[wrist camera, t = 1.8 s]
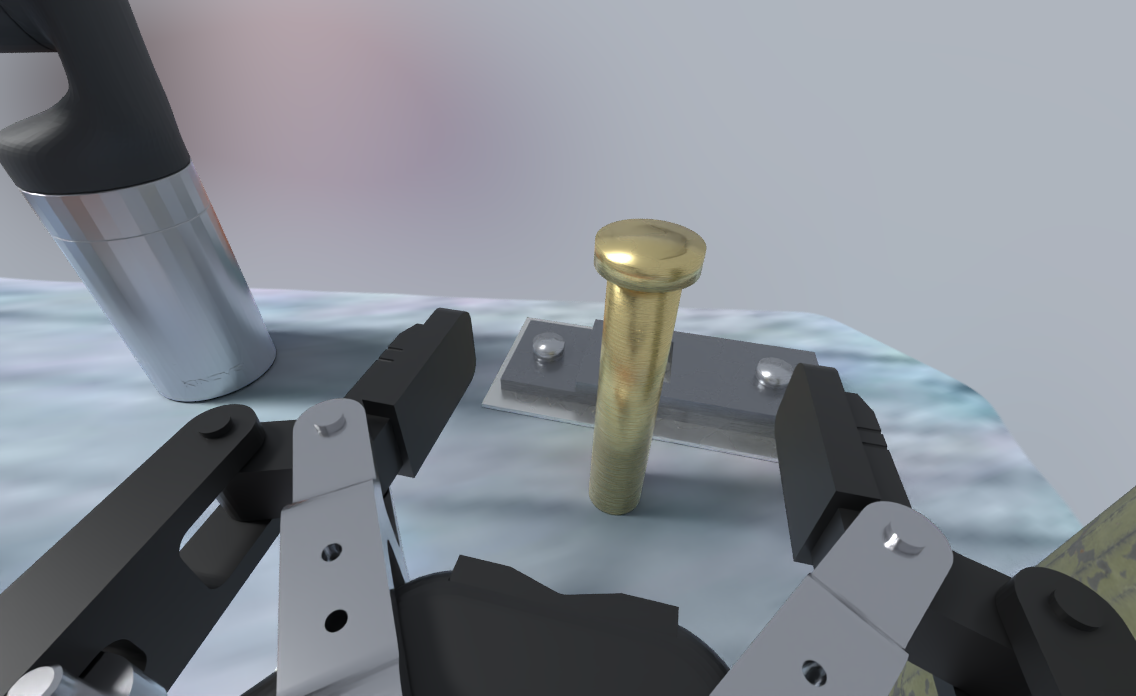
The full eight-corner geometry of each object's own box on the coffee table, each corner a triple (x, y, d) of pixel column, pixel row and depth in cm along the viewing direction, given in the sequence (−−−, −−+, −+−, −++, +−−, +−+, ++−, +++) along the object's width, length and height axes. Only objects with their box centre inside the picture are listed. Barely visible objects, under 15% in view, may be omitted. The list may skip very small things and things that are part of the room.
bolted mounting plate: (482, 407, 40) (477, 372, 37) (527, 320, 50) (526, 288, 47) (842, 474, 35) (863, 439, 33) (811, 364, 45) (826, 331, 43)
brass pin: (564, 483, 34) (573, 233, 22) (618, 452, 36) (653, 211, 24) (609, 538, 31) (646, 279, 19) (665, 500, 33) (730, 248, 21)
